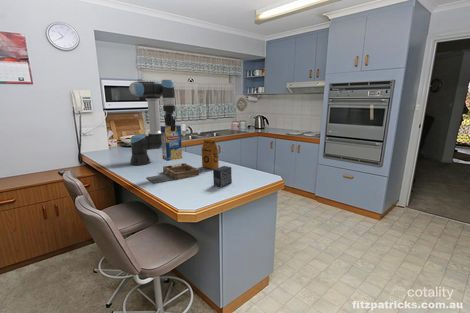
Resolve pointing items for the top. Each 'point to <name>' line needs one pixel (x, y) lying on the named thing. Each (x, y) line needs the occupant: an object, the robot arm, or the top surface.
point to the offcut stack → (175, 165)
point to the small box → (222, 176)
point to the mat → (160, 178)
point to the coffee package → (210, 154)
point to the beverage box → (171, 143)
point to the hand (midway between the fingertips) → (171, 141)
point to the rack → (181, 171)
